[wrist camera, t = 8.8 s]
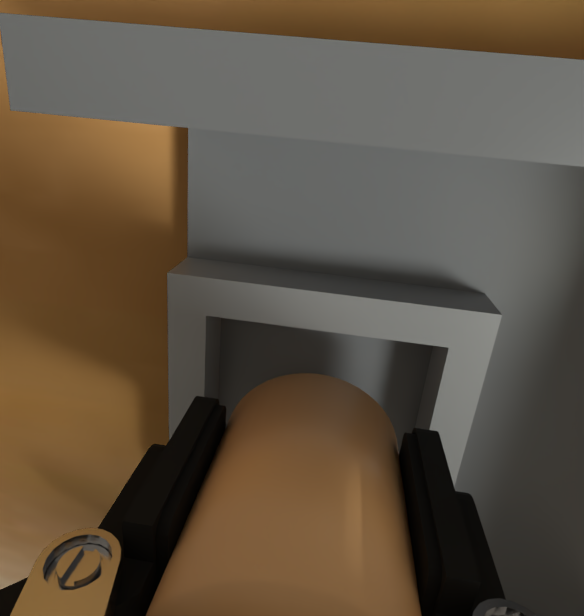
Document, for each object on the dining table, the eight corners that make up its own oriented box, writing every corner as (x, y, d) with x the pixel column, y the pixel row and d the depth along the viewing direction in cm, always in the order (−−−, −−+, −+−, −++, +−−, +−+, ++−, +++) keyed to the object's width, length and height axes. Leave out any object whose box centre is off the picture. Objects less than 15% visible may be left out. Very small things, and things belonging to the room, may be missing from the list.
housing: (836, 135, 11) (1661, 145, 4) (592, 632, 17) (749, 961, 10) (199, 78, 12) (-2, 12, 5) (192, 561, 18) (98, 813, 11)
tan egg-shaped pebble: (434, 460, 12) (499, 723, 6) (306, 540, 13) (276, 805, 8) (314, 338, 11) (279, 529, 6) (192, 437, 12) (77, 659, 7)
